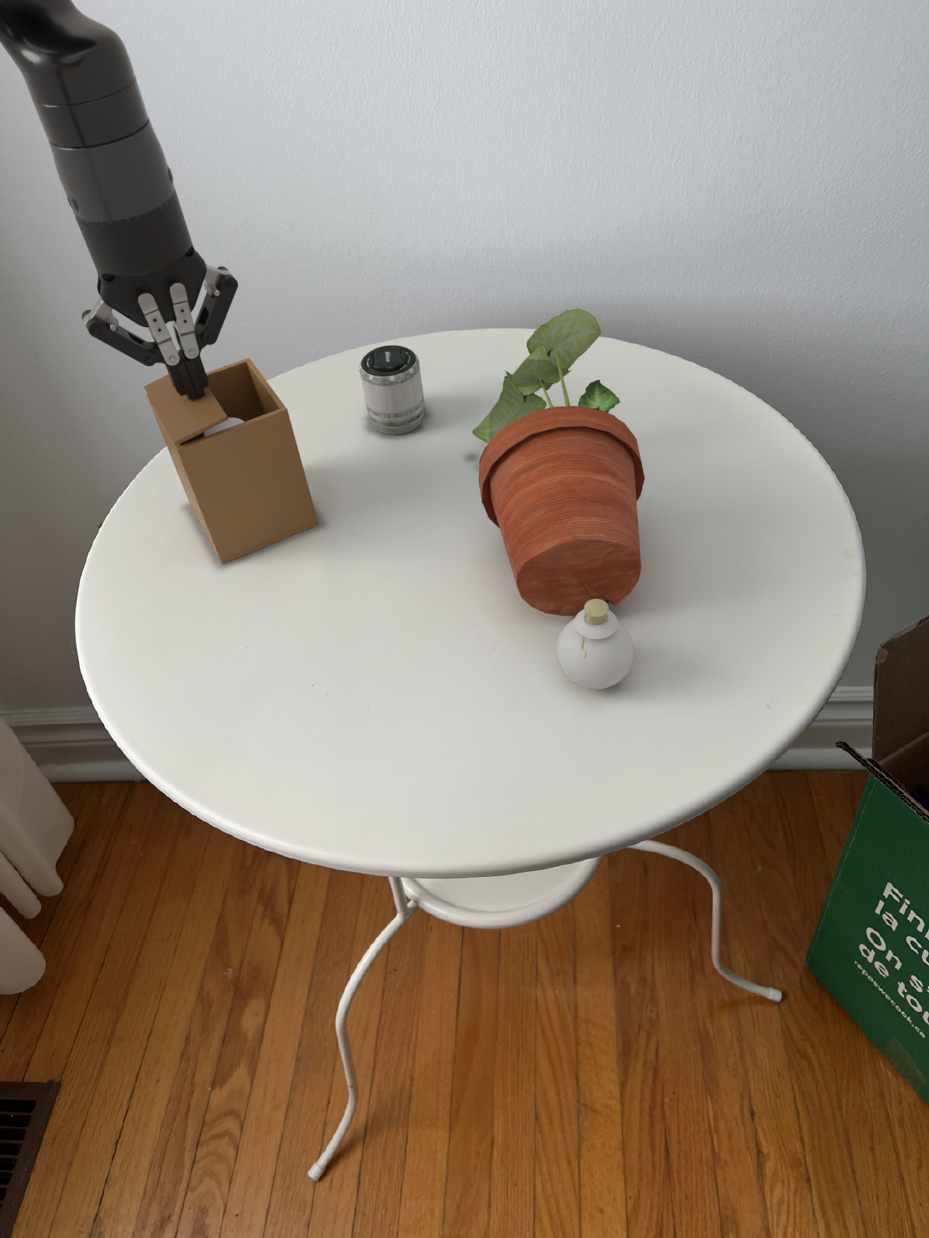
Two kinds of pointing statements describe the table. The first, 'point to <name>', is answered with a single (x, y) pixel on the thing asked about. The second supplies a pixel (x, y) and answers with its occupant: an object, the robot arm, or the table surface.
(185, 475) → the carton
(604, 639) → the white potion bottle
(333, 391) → the table surface
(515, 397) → the potted plant
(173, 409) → the flap
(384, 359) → the camera lens
